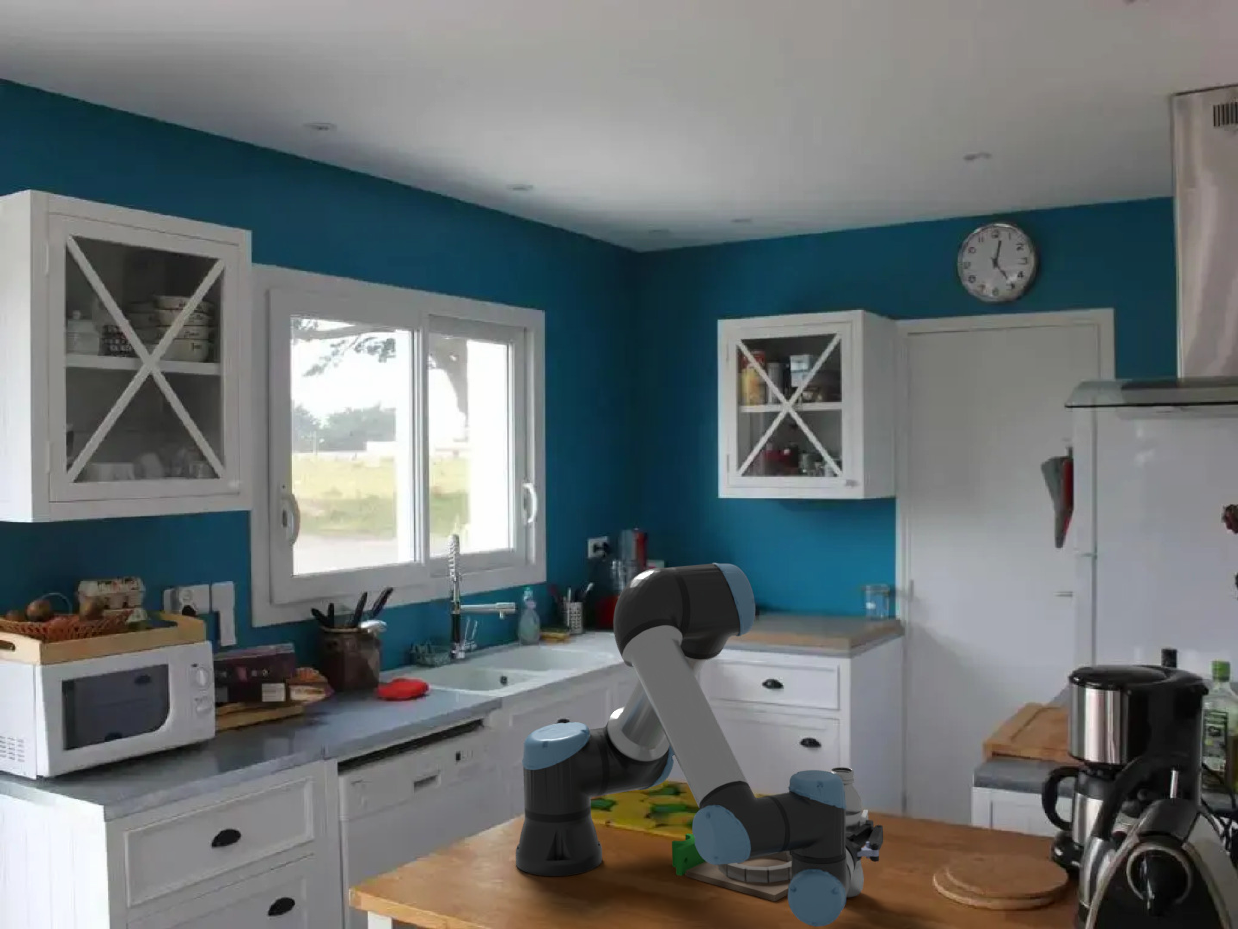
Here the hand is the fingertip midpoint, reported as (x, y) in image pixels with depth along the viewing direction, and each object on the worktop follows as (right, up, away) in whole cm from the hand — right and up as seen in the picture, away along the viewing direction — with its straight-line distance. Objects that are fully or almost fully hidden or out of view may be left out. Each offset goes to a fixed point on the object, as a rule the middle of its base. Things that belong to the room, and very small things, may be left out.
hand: (845, 816), depth 198 cm
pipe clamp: (-25, -12, +11) cm, 30 cm away
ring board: (-13, -11, +6) cm, 18 cm away
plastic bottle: (-1, -11, -5) cm, 12 cm away
